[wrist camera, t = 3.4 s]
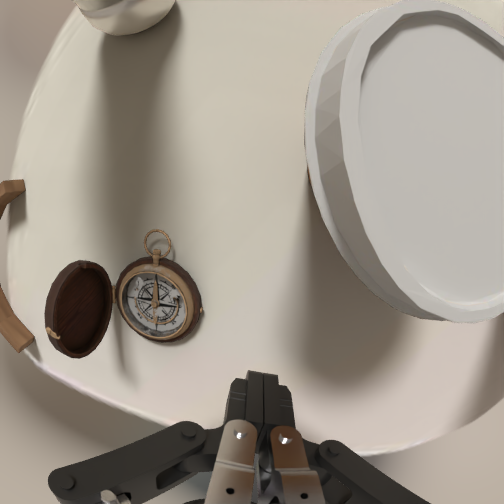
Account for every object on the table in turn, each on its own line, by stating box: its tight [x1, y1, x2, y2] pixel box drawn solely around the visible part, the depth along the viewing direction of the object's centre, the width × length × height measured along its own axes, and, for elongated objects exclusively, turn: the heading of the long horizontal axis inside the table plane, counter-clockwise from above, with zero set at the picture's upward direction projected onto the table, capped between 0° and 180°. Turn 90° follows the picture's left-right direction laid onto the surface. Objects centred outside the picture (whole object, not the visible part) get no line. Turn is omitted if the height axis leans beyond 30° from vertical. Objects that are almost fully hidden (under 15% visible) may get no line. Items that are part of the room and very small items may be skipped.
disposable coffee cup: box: [304, 0, 504, 323], centre depth 10 cm, size 10×10×12 cm
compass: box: [45, 229, 203, 359], centre depth 15 cm, size 8×8×7 cm
